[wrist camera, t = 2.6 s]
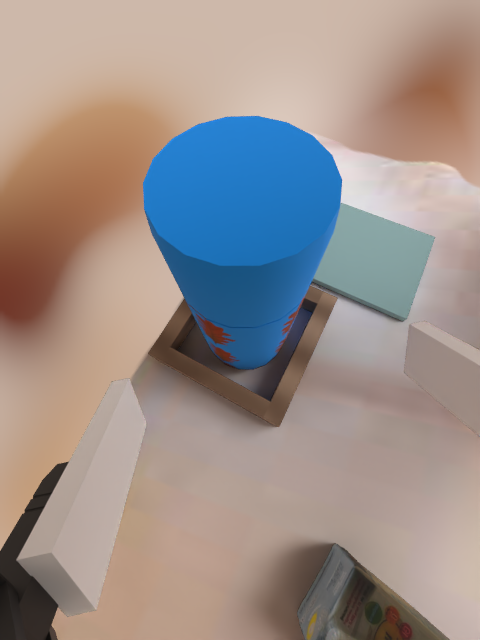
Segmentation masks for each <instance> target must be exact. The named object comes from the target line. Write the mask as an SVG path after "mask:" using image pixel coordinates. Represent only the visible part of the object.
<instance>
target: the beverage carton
mask: <svg viewBox="0 0 480 640" xmlns="http://www.w3.org/2000/svg"><path fill="white" fill-rule="evenodd" d="M297 616H298V618H299V625H300V627H301V630H302V633H303V636H304V639H305V640H449V639H448V638H447V637H446V636H445V635H444V634H443V633H442V632H440V631H439V630H438V629H437V628H436V627H435V626H434V625H432V624H431V623H430V622H429V621H428V620H427V619H426V618H424V617H423V616H422V615H421V614H420V613H419V612H418V611H417V610H415V609H414V608H413V607H412V606H411V605H410V604H408V603H407V602H406V601H405V600H404V599H402V598H401V597H400V596H399V595H398V594H396V593H395V592H394V591H393V590H392V589H390V588H389V587H388V586H387V585H386V584H384V583H383V582H382V581H381V580H379V579H378V578H377V577H376V576H375V575H373V574H372V573H371V572H370V571H369V570H367V569H366V568H365V567H363V566H362V565H361V564H360V563H359V562H358V561H357V560H356V559H355V558H354V557H353V556H352V555H351V554H350V553H349V552H348V551H347V550H345V549H344V548H342V547H340V546H339V545H338V544H336V543H335V544H334V545H333V547H332V549H331V551H330V553H329V555H328V557H327V559H326V561H325V563H324V565H323V567H322V568H321V570H320V572H319V574H318V575H317V577H316V579H315V581H314V583H313V584H312V586H311V588H310V590H309V591H308V593H307V595H306V597H305V598H304V600H303V602H302V604H301V606H300V608H299V610H298V612H297Z"/></svg>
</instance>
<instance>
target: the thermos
mask: <svg viewBox="0 0 480 640" xmlns="http://www.w3.org/2000/svg"><path fill="white" fill-rule="evenodd" d="M341 187H342V178H341V176H340V174H339V171H338V169H337V166H336V164H335V161H334V159H333V156H332V155H331V154H330V153H329V152H328V151H327V150H326V149H325V148H324V147H323V146H322V145H321V144H320V143H319V142H318V141H317V140H316V138H315V137H314V136H312V135H310V134H308V133H306V132H305V131H303V130H300V129H299V128H297V127H295V126H293V125H291V124H289V123H287V122H282V121H278V120H273V119H269V118H264V117H259V116H244V117H243V116H241V117H224V118H221V119H217V120H213V121H209V122H206V123H201V124H198V125H196V126H194V127H192V128H191V129H189V130H187V131H185V132H183V133H182V134H180V135H178V136H176V137H175V138H173V139H172V140H171V141H170V142H169V143H168V144H167V145H166V146H165V147H164V148H163V149H162V150H161V151H160V152H159V153H158V154H157V155H156V156H155V157H154V158H153V160H152V163H151V165H150V168H149V170H148V172H147V175H146V177H145V180H144V182H143V192H144V210H145V213H146V216H147V220H148V223H149V226H150V229H151V233H152V235H153V237H154V239H155V241H156V242H157V245H158V246H159V249H160V251H161V252H162V255H163V256H164V259H165V261H166V263H167V264H168V266H169V268H170V270H171V272H172V274H173V276H174V278H175V280H176V282H177V284H178V286H179V288H180V290H181V292H182V294H183V296H184V298H185V300H186V302H187V304H188V306H189V308H190V310H191V312H192V314H193V316H194V318H195V320H196V322H197V324H198V326H199V328H200V330H201V332H202V334H203V336H204V338H205V339H206V341H207V343H208V345H209V347H210V349H211V350H212V352H213V353H214V354H215V355H216V356H217V357H218V358H219V359H220V360H221V361H222V362H224V363H225V364H226V365H228V366H231V367H234V368H236V369H255V368H258V367H261V366H264V365H266V364H267V363H268V362H269V361H271V360H272V359H273V358H274V357H275V356H276V355H277V353H278V352H279V351H280V349H281V347H282V345H283V344H284V342H285V340H286V338H287V336H288V334H289V332H290V329H291V327H292V325H293V323H294V320H295V318H296V316H297V314H298V311H299V309H300V307H301V305H302V302H303V300H304V298H305V296H306V293H307V291H308V289H309V287H310V284H311V282H312V280H313V278H314V275H315V273H316V271H317V269H318V266H319V264H320V262H321V260H322V257H323V255H324V253H325V251H326V248H327V246H328V244H329V242H330V239H331V237H332V235H333V233H334V229H335V225H336V221H337V217H338V213H339V209H340V201H341Z"/></svg>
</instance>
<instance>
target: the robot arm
mask: <svg viewBox="0 0 480 640" xmlns="http://www.w3.org/2000/svg"><path fill="white" fill-rule="evenodd" d="M404 373H405V374H406V375H407V376H409V377H410V378H411V379H412V380H413V381H415V382H416V383H417V384H418V385H419V386H420V387H422V388H423V389H424V390H425V391H426V392H427V393H429V394H430V395H431V396H432V397H433V398H434V399H436V400H437V401H438V402H439V403H440V404H442V405H443V406H444V407H445V408H446V409H447V410H449V411H450V412H451V413H452V414H453V415H454V416H456V417H457V418H458V419H459V420H460V421H461V422H463V423H464V424H465V425H466V426H467V427H469V428H470V429H471V430H472V431H473V432H474V433H476V434H477V435H478V436H479V437H480V350H479V349H477V348H475V347H473V346H471V345H469V344H467V343H465V342H464V341H462V340H460V339H458V338H456V337H454V336H452V335H450V334H449V333H447V332H445V331H443V330H441V329H439V328H437V327H435V326H434V325H432V324H430V323H428V322H426V321H422V322H417V323H411V324H409V331H408V340H407V349H406V358H405V367H404ZM146 426H147V423H146V420H145V418H144V415H143V413H142V410H141V407H140V405H139V402H138V400H137V397H136V395H135V392H134V389H133V387H132V384H131V382H130V379H129V378H127V379H122V380H117V381H112V382H111V384H110V386H109V388H108V390H107V392H106V393H105V395H104V397H103V399H102V401H101V403H100V405H99V407H98V408H97V411H96V412H95V414H94V416H93V418H92V420H91V422H90V423H89V425H88V427H87V429H86V431H85V433H84V435H83V437H82V438H81V440H80V442H79V444H78V446H77V448H76V450H75V451H74V454H73V455H72V457H71V459H70V461H69V462H66V463H61V464H57V465H56V466H55V467H54V468H53V469H52V471H51V472H50V473H49V474H48V475H47V476H46V477H45V478H44V479H43V480H42V482H41V484H40V485H39V487H38V489H37V490H36V492H35V494H34V495H33V499H31V500H30V502H29V504H28V506H27V507H26V509H25V513H24V514H22V516H21V517H20V519H19V521H18V522H17V524H16V526H15V527H14V529H13V531H12V532H11V534H10V536H9V537H8V539H7V541H6V542H5V544H4V546H3V548H2V549H1V551H0V640H57V636H56V632H55V630H54V629H53V627H52V626H51V624H52V621H53V619H54V616H55V613H56V611H57V608H58V607H59V608H60V609H61V611H62V612H63V613H64V614H65V615H66V616H67V617H69V616H74V615H78V614H82V613H87V612H91V611H96V610H97V606H98V603H99V599H100V595H101V592H102V588H103V584H104V581H105V577H106V573H107V570H108V566H109V562H110V559H111V555H112V551H113V547H114V544H115V540H116V536H117V533H118V529H119V525H120V522H121V518H122V514H123V511H124V507H125V503H126V500H127V496H128V492H129V489H130V485H131V481H132V477H133V474H134V470H135V466H136V463H137V459H138V455H139V452H140V448H141V444H142V441H143V437H144V433H145V430H146Z"/></svg>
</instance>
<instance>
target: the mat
mask: <svg viewBox="0 0 480 640" xmlns="http://www.w3.org/2000/svg"><path fill="white" fill-rule="evenodd" d="M434 239H435V237H433V236H431V235H428V234H425V233H422V232H420V231H417V230H414V229H411V228H409V227H406V226H403V225H400V224H398V223H395V222H392V221H390V220H387V219H384V218H381V217H379V216H376V215H373V214H370V213H368V212H365V211H362V210H359V209H357V208H354V207H351V206H349V205H346V204H343V203H341V204H340V209H339V213H338V217H337V221H336V225H335V229H334V233H333V235H332V237H331V239H330V242H329V244H328V246H327V248H326V251H325V253H324V255H323V257H322V260H321V262H320V264H319V266H318V269H317V271H316V273H315V275H314V278H313V280H312V282H313V283H316V284H318V285H320V286H323V287H325V288H327V289H329V290H332V291H334V292H336V293H339V294H341V295H343V296H346V297H348V298H350V299H352V300H355V301H357V302H359V303H362V304H364V305H366V306H369V307H371V308H373V309H375V310H378V311H380V312H382V313H385V314H387V315H389V316H392V317H394V318H396V319H398V320H401V321H404V320H406V319H407V317H408V314H409V311H410V308H411V305H412V303H413V300H414V297H415V294H416V291H417V288H418V285H419V282H420V279H421V277H422V274H423V271H424V268H425V265H426V262H427V259H428V256H429V253H430V251H431V248H432V245H433V242H434Z"/></svg>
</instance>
